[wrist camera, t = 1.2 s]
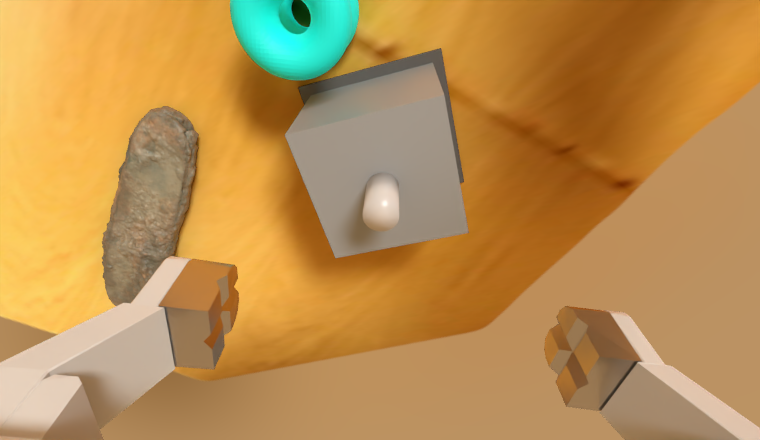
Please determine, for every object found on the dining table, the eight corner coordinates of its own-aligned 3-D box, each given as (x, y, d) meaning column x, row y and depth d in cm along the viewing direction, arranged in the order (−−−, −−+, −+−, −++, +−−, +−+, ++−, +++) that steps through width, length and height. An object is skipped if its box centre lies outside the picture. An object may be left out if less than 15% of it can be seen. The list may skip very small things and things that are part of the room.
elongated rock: (226, 124, 49) (146, 85, 47) (207, 137, 44) (117, 94, 42) (166, 313, 65) (104, 289, 63) (147, 337, 60) (80, 311, 58)
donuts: (353, -48, 29) (346, 90, 34) (363, -46, 37) (356, 65, 43) (217, -64, 29) (231, 77, 34) (257, -58, 37) (264, 55, 43)
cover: (432, 62, 42) (451, 114, 27) (453, 176, 49) (477, 265, 35) (310, 95, 44) (268, 159, 30) (347, 199, 51) (328, 291, 37)
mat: (440, 48, 42) (441, 48, 41) (463, 180, 50) (463, 182, 50) (298, 86, 44) (298, 87, 44) (342, 206, 53) (342, 207, 52)
